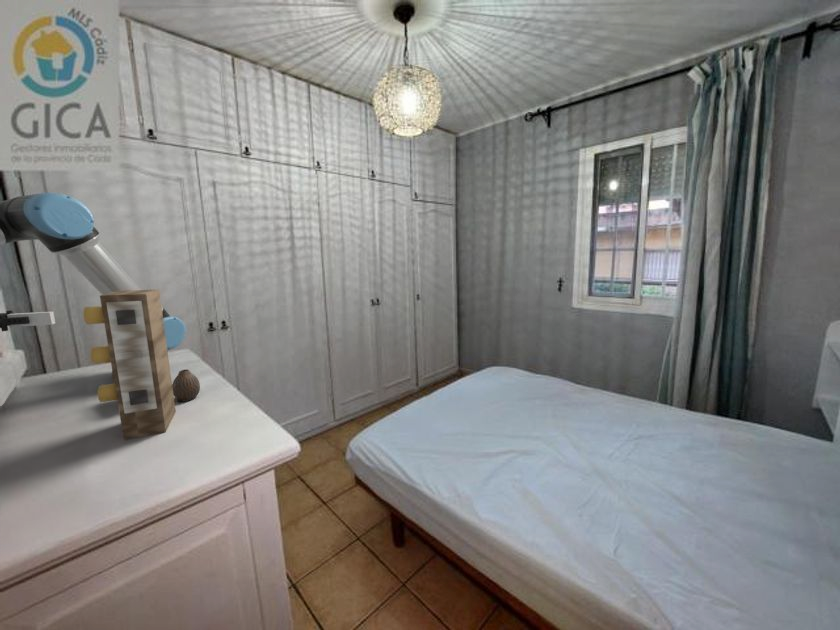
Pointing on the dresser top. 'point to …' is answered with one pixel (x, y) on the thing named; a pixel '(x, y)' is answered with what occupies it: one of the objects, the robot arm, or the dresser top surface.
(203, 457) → the dresser top surface
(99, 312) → the button top
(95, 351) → the button mid
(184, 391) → the vase
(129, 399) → the button column
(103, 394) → the button low
